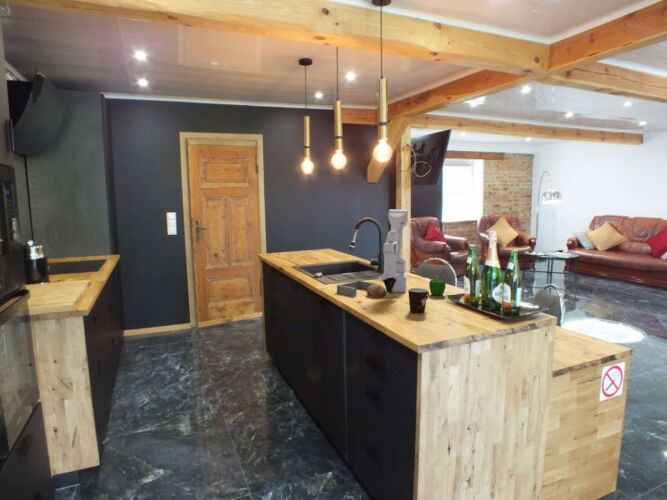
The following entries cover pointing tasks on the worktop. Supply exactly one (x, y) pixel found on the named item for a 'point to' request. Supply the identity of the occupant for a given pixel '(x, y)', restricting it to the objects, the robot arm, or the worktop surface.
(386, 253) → the robot arm
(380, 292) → the bread roll
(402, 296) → the worktop surface
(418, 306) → the coffee mug
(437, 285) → the bell pepper
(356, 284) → the box
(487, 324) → the worktop surface
